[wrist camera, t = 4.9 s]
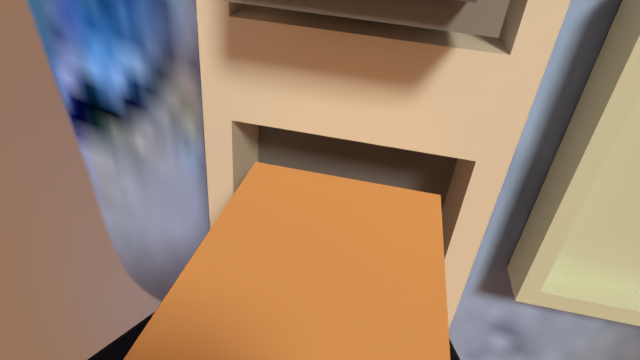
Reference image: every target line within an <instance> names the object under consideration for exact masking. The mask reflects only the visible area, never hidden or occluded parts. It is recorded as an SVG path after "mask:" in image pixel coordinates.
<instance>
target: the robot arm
mask: <svg viewBox="0 0 640 360" xmlns="http://www.w3.org/2000/svg"><path fill="white" fill-rule="evenodd" d="M155 312H156V311H155ZM155 312H154V313H155ZM154 313H152V314H151V315H150V316H148V317H147V318H145V319H144V320H143V321H141V322H140V323H138V324H137V325H136V326H134V327H133V328H131V329H130V330H128V331H127V332H126V333H124V334H123V335H121V336H120V337H119V338H117V339H116V340H115V341H113V342H112V343H110V344H109V345H107V346H106V347H105V348H103V349H102V350H100V351H99V352H98V353H96V354H95V355H93V356H92V357H91V358H89V359H88V360H123V359H124V358H125V356H126V355H127V353H128V352H129V350H130V349H131V347H132V346H133V344H134V343H135V341H136V340H137V339H138V337H139V336H140V334H141V333H142V331H143V330H144V328H145V327H146V325H147V324H148V322H149V321H150V319H151V318H152V316H153V315H154ZM449 344H450V360H460V358H459V356H458V354H457V353H456V351H455V349H454V347H453V345H452V343H451V341H450V339H449Z"/></svg>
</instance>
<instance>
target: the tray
mask: <svg viewBox="0 0 640 360" xmlns="http://www.w3.org/2000/svg"><path fill="white" fill-rule="evenodd" d="M507 270H508V274H509V278H510V282H511V287H512V291H513V295H514V299H515V301H518V302H523V303H528V304H533V305H538V306H543V307H547V308H552V309H557V310H562V311H567V312H572V313H577V314H582V315H587V316H592V317H597V318H602V319H606V320H611V321H616V322H621V323H626V324H631V325H636V326H640V0H622V2H621V4H620V7H619V9H618V11H617V14H616V16H615V18H614V21H613V23H612V25H611V28H610V30H609V32H608V35H607V37H606V39H605V42H604V44H603V46H602V48H601V51H600V53H599V55H598V58H597V60H596V62H595V65H594V67H593V69H592V72H591V74H590V76H589V79H588V81H587V83H586V86H585V88H584V90H583V93H582V95H581V97H580V100H579V102H578V104H577V107H576V109H575V111H574V114H573V116H572V118H571V121H570V123H569V125H568V127H567V130H566V132H565V134H564V137H563V139H562V141H561V144H560V146H559V148H558V151H557V153H556V155H555V158H554V160H553V162H552V165H551V167H550V169H549V172H548V174H547V176H546V179H545V181H544V183H543V186H542V188H541V190H540V193H539V195H538V197H537V199H536V202H535V204H534V206H533V209H532V211H531V213H530V216H529V218H528V220H527V223H526V225H525V227H524V230H523V232H522V234H521V237H520V239H519V241H518V244H517V246H516V248H515V251H514V253H513V255H512V258H511V260H510V262H509V265H508V267H507Z"/></svg>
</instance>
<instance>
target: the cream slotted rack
mask: <svg viewBox="0 0 640 360" xmlns="http://www.w3.org/2000/svg"><path fill="white" fill-rule="evenodd" d="M570 1H571V0H196V7H197V23H198V39H199V55H200V71H201V87H202V103H203V119H204V135H205V151H206V167H207V183H208V199H209V215H210V229H211V228H212V226H213V225H214V223H215V222H216V220H217V219H218V217H219V216H220V214H221V213H222V211H223V210H224V208H225V207H226V205H227V204H228V202H229V201H230V199H231V198H232V196H233V195H234V193H235V192H236V190H237V189H238V187H239V186H240V184H241V183H242V181H243V180H244V178H245V177H246V175H247V174H248V172H249V171H250V169H251V168H252V166H253V165H254V163H255V162H259V163H265V164H271V165H276V166H282V167H287V168H293V169H298V170H304V171H310V172H315V173H321V174H326V175H332V176H338V177H343V178H349V179H354V180H360V181H365V182H371V183H377V184H382V185H388V186H393V187H399V188H404V189H410V190H416V191H421V192H427V193H432V194H438V195H441V210H442V226H443V243H444V260H445V277H446V294H447V311H448V328H449V327H450V325H451V322H452V319H453V317H454V314H455V311H456V309H457V306H458V303H459V301H460V298H461V295H462V292H463V290H464V287H465V284H466V282H467V279H468V276H469V274H470V271H471V268H472V266H473V263H474V260H475V257H476V255H477V252H478V249H479V247H480V244H481V241H482V239H483V236H484V233H485V230H486V228H487V225H488V222H489V220H490V217H491V214H492V212H493V209H494V206H495V204H496V201H497V198H498V195H499V193H500V190H501V187H502V185H503V182H504V179H505V177H506V174H507V171H508V169H509V166H510V163H511V160H512V158H513V155H514V152H515V150H516V147H517V144H518V142H519V139H520V136H521V133H522V131H523V128H524V125H525V123H526V120H527V117H528V115H529V112H530V109H531V107H532V104H533V101H534V98H535V96H536V93H537V90H538V88H539V85H540V82H541V80H542V77H543V74H544V72H545V69H546V66H547V63H548V61H549V58H550V55H551V53H552V50H553V47H554V45H555V42H556V39H557V36H558V34H559V31H560V28H561V26H562V23H563V20H564V18H565V15H566V12H567V10H568V7H569V4H570Z"/></svg>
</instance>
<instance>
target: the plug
mask: <svg viewBox="0 0 640 360" xmlns="http://www.w3.org/2000/svg"><path fill="white" fill-rule="evenodd" d="M123 360H450V344H449V328H448V311H447V294H446V277H445V260H444V243H443V226H442V210H441V195H438V194H432V193H427V192H421V191H416V190H410V189H404V188H399V187H393V186H388V185H382V184H377V183H371V182H365V181H360V180H354V179H349V178H343V177H338V176H332V175H326V174H321V173H315V172H310V171H304V170H298V169H293V168H287V167H282V166H276V165H271V164H265V163H259V162H255V163H254V165H253V166H252V168H251V169H250V171H249V172H248V174H247V175H246V177H245V178H244V180H243V181H242V183H241V184H240V186H239V187H238V189H237V190H236V192H235V193H234V195H233V196H232V198H231V199H230V201H229V202H228V204H227V205H226V207H225V208H224V210H223V211H222V213H221V214H220V216H219V217H218V219H217V220H216V222H215V223H214V225H213V226H212V228H211V229H210V231H209V232H208V234H207V235H206V237H205V238H204V240H203V241H202V243H201V244H200V246H199V247H198V249H197V250H196V252H195V253H194V255H193V256H192V258H191V259H190V261H189V262H188V264H187V265H186V267H185V268H184V270H183V271H182V273H181V274H180V276H179V277H178V279H177V280H176V282H175V283H174V285H173V286H172V288H171V289H170V291H169V292H168V294H167V295H166V297H165V298H164V300H163V301H162V303H161V304H160V306H159V307H158V309H157V310H156V312H155V313H154V315H153V316H152V318H151V319H150V321H149V322H148V324H147V325H146V327H145V328H144V330H143V331H142V333H141V334H140V336H139V337H138V339H137V340H136V341H135V343H134V344H133V346H132V347H131V349H130V350H129V352H128V353H127V355H126V356H125V358H124V359H123Z"/></svg>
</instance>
